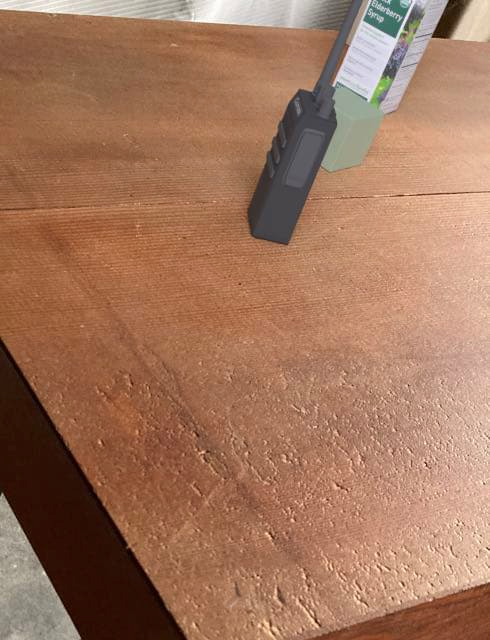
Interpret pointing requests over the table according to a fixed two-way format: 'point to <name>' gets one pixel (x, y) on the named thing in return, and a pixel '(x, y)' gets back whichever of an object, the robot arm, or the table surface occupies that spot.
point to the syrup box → (388, 49)
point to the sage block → (351, 130)
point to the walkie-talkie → (298, 150)
